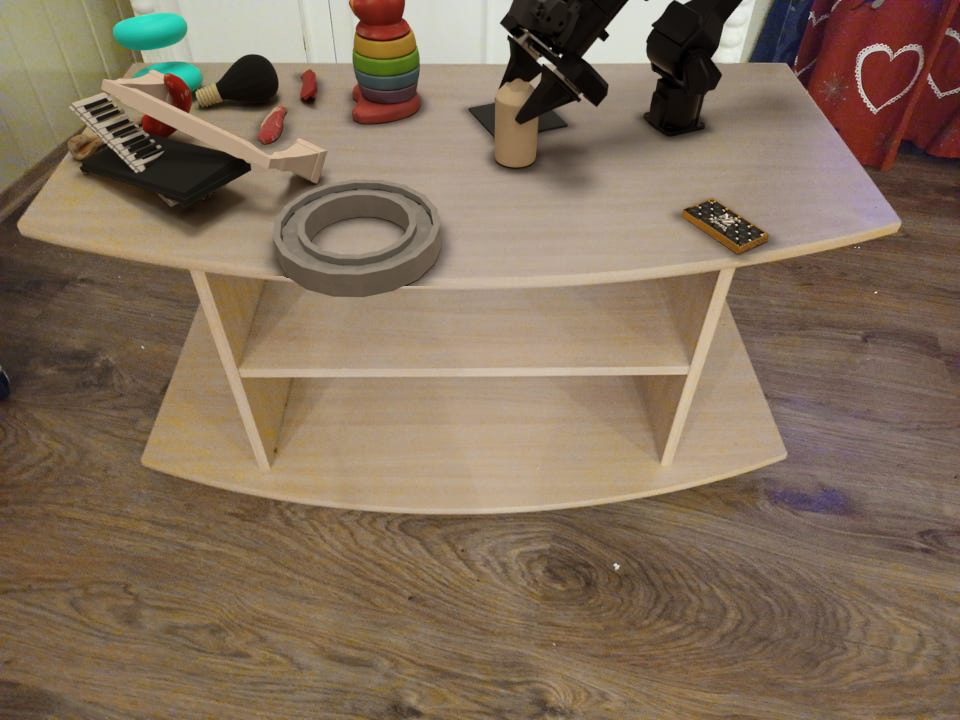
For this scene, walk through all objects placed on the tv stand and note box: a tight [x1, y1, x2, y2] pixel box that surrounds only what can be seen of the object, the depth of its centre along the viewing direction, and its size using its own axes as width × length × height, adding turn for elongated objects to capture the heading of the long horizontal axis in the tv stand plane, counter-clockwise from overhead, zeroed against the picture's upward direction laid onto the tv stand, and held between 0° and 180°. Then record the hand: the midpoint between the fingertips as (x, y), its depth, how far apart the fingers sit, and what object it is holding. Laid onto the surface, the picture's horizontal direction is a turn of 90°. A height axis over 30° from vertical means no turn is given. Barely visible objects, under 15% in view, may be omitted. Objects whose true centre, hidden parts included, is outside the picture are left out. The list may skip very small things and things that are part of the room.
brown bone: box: [67, 112, 145, 161], centre depth 100 cm, size 17×3×3 cm
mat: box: [468, 102, 569, 139], centre depth 105 cm, size 11×10×1 cm
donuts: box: [112, 12, 204, 93], centre depth 105 cm, size 10×10×10 cm
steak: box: [256, 104, 288, 145], centre depth 102 cm, size 10×1×3 cm
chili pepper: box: [299, 69, 318, 101], centre depth 109 cm, size 12×5×2 cm
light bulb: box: [195, 53, 280, 108], centre depth 105 cm, size 7×7×12 cm
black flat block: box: [681, 197, 770, 255], centre depth 86 cm, size 9×1×5 cm
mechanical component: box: [272, 178, 442, 298], centre depth 82 cm, size 18×18×3 cm
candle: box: [493, 79, 539, 168], centre depth 93 cm, size 6×6×10 cm
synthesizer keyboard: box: [68, 91, 252, 210], centre depth 89 cm, size 22×10×10 cm, turn 55°
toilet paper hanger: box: [100, 70, 328, 184], centre depth 88 cm, size 26×10×4 cm, turn 65°
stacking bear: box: [348, 0, 421, 125], centre depth 101 cm, size 11×10×18 cm
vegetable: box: [139, 73, 193, 138], centre depth 95 cm, size 4×5×12 cm
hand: (506, 112), depth 91 cm, fingers closed on candle, 5 cm apart
